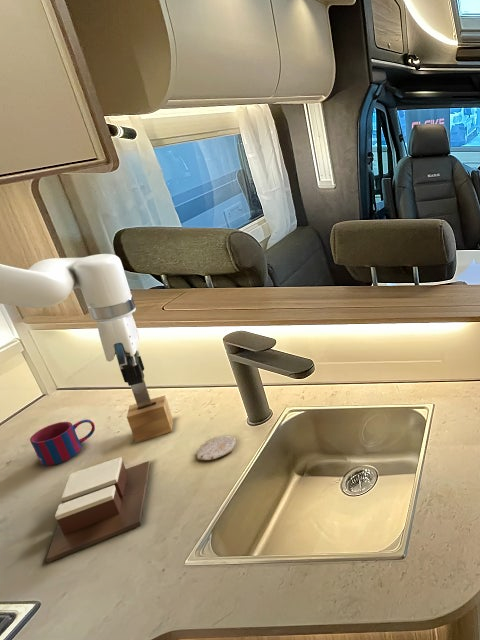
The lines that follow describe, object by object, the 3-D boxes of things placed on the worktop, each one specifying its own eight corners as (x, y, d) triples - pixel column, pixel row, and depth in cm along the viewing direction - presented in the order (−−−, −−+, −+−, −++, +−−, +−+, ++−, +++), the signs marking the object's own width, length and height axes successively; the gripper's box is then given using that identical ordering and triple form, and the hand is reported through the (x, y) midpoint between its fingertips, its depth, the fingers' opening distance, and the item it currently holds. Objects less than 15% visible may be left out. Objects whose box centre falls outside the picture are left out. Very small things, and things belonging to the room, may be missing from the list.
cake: (69, 516, 83) (61, 498, 81) (78, 491, 88) (70, 473, 86) (123, 496, 87) (115, 479, 85) (127, 473, 92) (121, 456, 91)
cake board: (47, 563, 75) (45, 559, 75) (72, 491, 89) (70, 487, 89) (140, 525, 82) (139, 521, 82) (150, 464, 96) (149, 460, 96)
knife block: (136, 443, 102) (126, 417, 99) (138, 430, 106) (129, 405, 103) (171, 431, 106) (163, 406, 103) (173, 419, 109) (165, 395, 107)
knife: (140, 419, 102) (120, 361, 96) (141, 412, 104) (122, 355, 98) (153, 415, 103) (134, 357, 97) (155, 408, 105) (136, 351, 100)
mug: (40, 455, 98) (29, 432, 95) (98, 432, 105) (89, 410, 102) (41, 471, 94) (30, 447, 91) (101, 446, 101) (92, 423, 98)
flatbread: (189, 460, 97) (188, 457, 97) (213, 436, 104) (212, 433, 104) (222, 462, 97) (221, 459, 96) (244, 438, 104) (243, 435, 103)
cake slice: (63, 535, 79) (54, 516, 77) (67, 523, 81) (58, 504, 80) (119, 513, 83) (111, 495, 82) (121, 502, 86) (114, 484, 84)
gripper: (97, 298, 98) (119, 364, 104) (81, 327, 85) (108, 400, 91) (138, 291, 102) (158, 355, 108) (129, 318, 89) (151, 388, 95)
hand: (134, 375), depth 100 cm, fingers closed on knife, 3 cm apart
